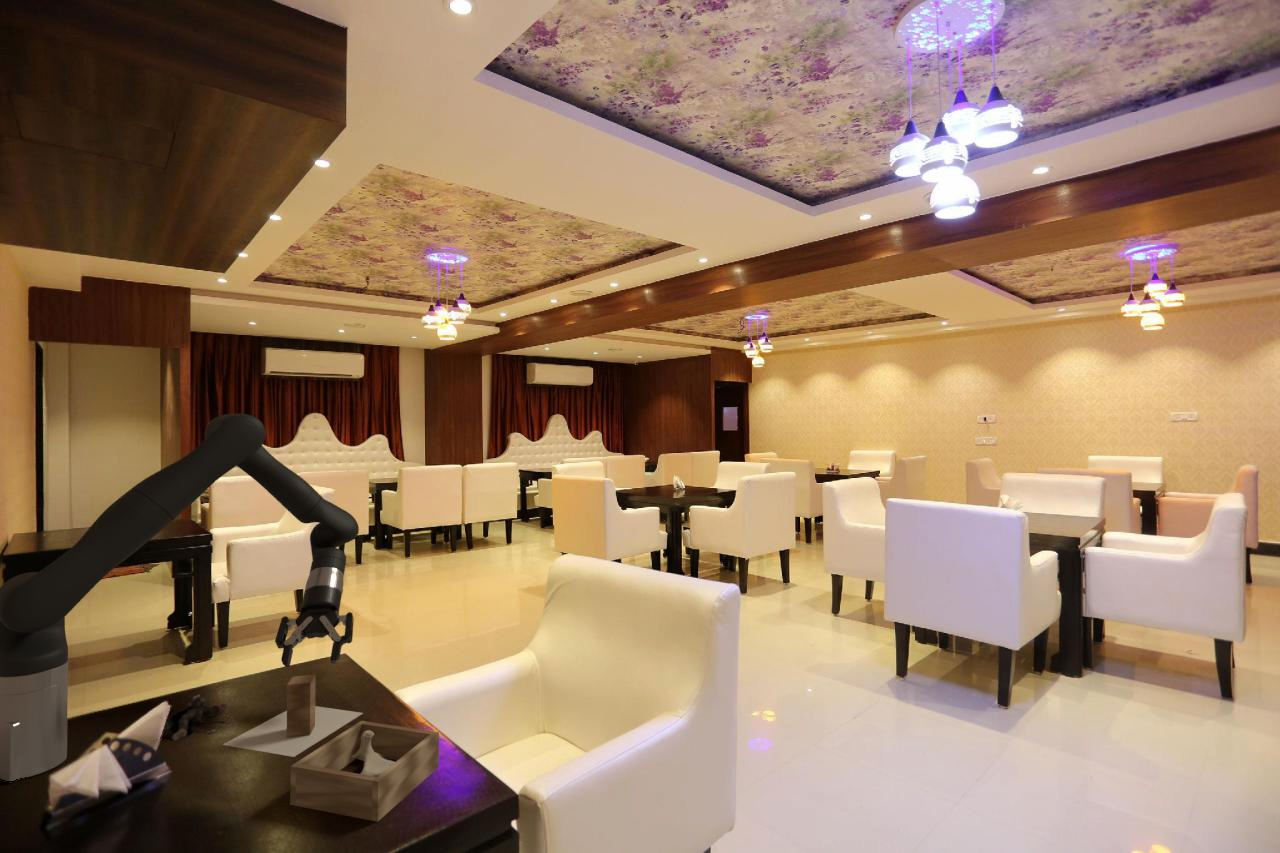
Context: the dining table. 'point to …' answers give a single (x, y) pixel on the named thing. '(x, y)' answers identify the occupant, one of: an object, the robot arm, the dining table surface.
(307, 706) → the walnut block
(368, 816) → the bone crate
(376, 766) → the bone
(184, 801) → the dining table surface
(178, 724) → the dark grey knobby piece
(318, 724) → the mat
